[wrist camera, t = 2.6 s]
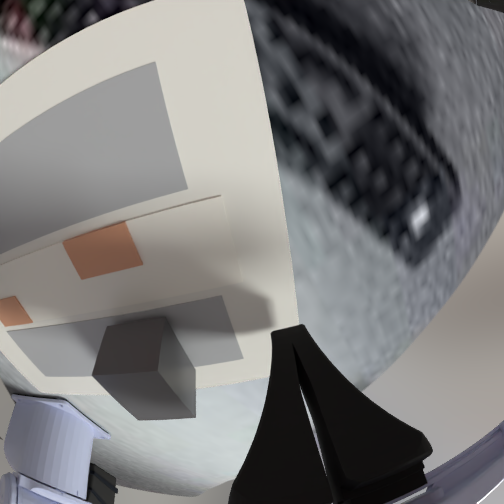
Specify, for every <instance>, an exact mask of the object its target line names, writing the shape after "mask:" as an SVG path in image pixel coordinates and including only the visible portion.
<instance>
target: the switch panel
mask: <svg viewBox="0 0 504 504" xmlns="http://www.w3.org/2000/svg"><path fill="white" fill-rule="evenodd" d="M159 317H166V318H167V320H168V322H169V324H170V326H171V328H172V330H173V331H174V333H175V335H176V337H177V339H178V340H179V342H180V344H181V346H182V347H183V349H184V351H185V353H186V354H187V356H188V358H189V359H190V361H191V363H192V364H193V366H194V368H195V369H196V389H201V388H208V387H215V386H222V385H228V384H234V383H240V382H245V381H251V380H256V379H261V378H266V377H270V370H271V359H272V342H271V334H270V333H271V332H272V331H275V330H279V329H283V328H288V327H292V326H296V325H299V319H298V310H297V301H296V293H295V284H294V276H293V268H292V261H291V253H290V246H289V238H288V231H287V224H286V217H285V211H284V204H283V197H282V191H281V185H280V178H279V172H278V166H277V160H276V154H275V148H274V143H273V137H272V131H271V126H270V120H269V115H268V110H267V105H266V99H265V94H264V89H263V84H262V79H261V74H260V69H259V65H258V60H257V55H256V51H255V46H254V42H253V37H252V33H251V28H250V24H249V20H248V15H247V11H246V7H245V3H244V0H154V1H151V2H148V3H145V4H142V5H139V6H136V7H134V8H131V9H128V10H126V11H123V12H121V13H118V14H116V15H113V16H111V17H109V18H107V19H104V20H102V21H100V22H98V23H96V24H94V25H91V26H89V27H87V28H85V29H83V30H81V31H80V32H78V33H76V34H74V35H72V36H70V37H68V38H67V39H65V40H63V41H61V42H60V43H58V44H56V45H55V46H53V47H51V48H50V49H48V50H47V51H45V52H44V53H42V54H41V55H39V56H38V57H36V58H35V59H33V60H32V61H30V62H29V63H27V64H26V65H25V66H23V67H22V68H21V69H19V70H18V71H17V72H15V73H14V74H13V75H11V76H10V77H9V78H8V79H6V80H5V81H4V82H3V83H1V84H0V351H1V352H2V353H3V354H4V355H5V356H6V358H7V359H8V360H9V361H10V362H11V363H12V364H13V365H14V366H15V367H16V369H17V370H18V371H19V372H20V373H21V374H22V375H23V376H24V377H25V378H26V379H27V380H28V381H29V382H30V383H31V384H32V385H33V386H34V387H35V388H36V389H37V390H38V391H40V392H41V393H52V394H69V395H110V394H109V393H108V392H107V391H106V390H105V389H104V388H103V387H102V386H101V385H100V384H99V383H98V382H97V381H96V380H95V379H94V378H93V377H92V372H93V369H94V365H95V362H96V358H97V355H98V352H99V349H100V345H101V342H102V339H103V336H104V333H105V330H106V327H107V326H110V325H117V324H123V323H129V322H136V321H142V320H148V319H153V318H159Z"/></svg>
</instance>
